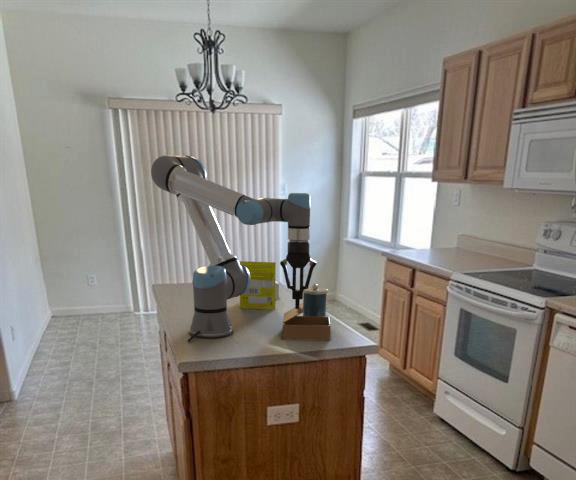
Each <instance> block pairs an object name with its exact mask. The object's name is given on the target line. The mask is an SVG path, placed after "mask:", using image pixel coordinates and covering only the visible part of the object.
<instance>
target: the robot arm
mask: <svg viewBox="0 0 576 480" xmlns="http://www.w3.org/2000/svg"><path fill="white" fill-rule="evenodd" d="M150 176H151V179H152V182H153V183H154V184H155V185H156V186H157V187H158V188H159V189H160V190H163V191H164V192H168V193H170V194H172V195H175V196H176V199H177V200H178V201H180V202H182V203H183V204H184V206H185V209H186V211H187V213H188V216H189V218H190V220H191V222H192V225H193V228H194V229H195V231H196V234H197V236H198V238H199V241H200V243H201V245H202V248H203V250H204V252H205V255H206V256H207V259H208V261H209V265H206V266H201V267H198V268H196V269H195V270H193V273H192V281H191V282H192V289H193V290H192V291H193V307H194V312H193V317H192V322H191V324H190V326H189V327H190V328H189V330H190V331H189V332H190V334H191V336H190V337H189V338H188V339H187V342H191V341H192V340H193V339H195V338H196V337H197V338H202V339H217V338H218V339H219V338H224V337H228V336H231V334H233V325H232V324H231V320H230V317H229V313H228V308H227V304H228V300H231V299H233V298H238V297H240V295H241V294H243V293H245V292H246V291H247V290H248V288H249V286H250V283H251V276H250V272H249V270H248V269H247V268H246V267H245V266H243V265H242V264H240V263H239V261H240V260H239V258H238V257H237V256H236V255H234V254H232V252H231V250H230V248H229V246H228V244H227V241H226V239H225V236H224V234H223V231H222V230H221V227H220V225H219V223H218V220H217V218H216V216H215V213H214V211H213V209H212V208H214V209H215V210H218V211H220V212H223V213H225V214H228V215H230V216H232V217H235V218H237V219H238V220H239V222H240V223H241V224H243V225H246V226H256V225H259V224H266V223H271V222H277V223H280V222H281V223H287V240H288V242H287V255H286V256H285V258H284V259H282V260H280V262H279V264H280V266H281V268H282V270H283V274H284V279H285V284H286V287H287V289H288V290H291V298H292V300H294V306H295V307H294V308H295V309H299V307H300V304H301V303H300V302H301V301H300V300H303V290H305V289H308V287H310V283H311V278H312V275H313V271H314V269H315V267H316V266H317V261H316V260H313V259H312V257H311V255H310V244H311V243H310V239H311V209H312V207H311V195H310V193H307V192H290V193H288V196H287V198H272V197H259V198H258V199H256V198H253V197H250V196H248V195H245V194H243V193H241V192H238V191H236V190H233V189H231V188H229V187H226V186H223V185H221V184H219V183H216V182H214V181H211V180H209V179H207V177H208V176H207V169H206V167H205V165H204V164H203V163H202V162H201V160H199V159H198V158H197V157H194V156H191V155H186V154H184V155H173V154H172V155H171V154H163V155H161V156H158V158H156V159H155V160H154V161H153V163H152V164H151V169H150ZM287 265H290V267H291V268H292V282H291V281H290V276H289V271H288V267H287ZM307 265H309V269H308V273H307V276H306V280H305V284H304V269H305V268H306V267H307ZM297 269H299V289H297ZM291 283H292V284H291Z"/></svg>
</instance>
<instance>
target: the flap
mask: <svg viewBox="0 0 576 480" xmlns="http://www.w3.org/2000/svg"><path fill="white" fill-rule="evenodd" d="M303 312H304V303H303V302H302V303H300V307H299V309H295V307H293V308H291V309H290V310H288V311H286V312H283V317H282V318H283V319H282V324H283V323H285V322H287V321H289V320H290V319H292V318H294V317H296V316H300V315H302V314H303Z"/></svg>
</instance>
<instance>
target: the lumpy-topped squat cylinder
mask: <svg viewBox="0 0 576 480" xmlns="http://www.w3.org/2000/svg"><path fill="white" fill-rule="evenodd" d="M277 300H280V283H279V282H278V281H277V280H275V301H277Z"/></svg>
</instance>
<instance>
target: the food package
mask: <svg viewBox="0 0 576 480" xmlns="http://www.w3.org/2000/svg"><path fill="white" fill-rule="evenodd" d="M238 261H239V263H240V264H242V265H243V266H245V267H246V268H247V269H248V270H249V272H250V276H251V283H250V286H249V288H248V290H247V291H246V292H245V293H243V294H241V295H239V308H240V309H257V310H261V309H262V310H276V300H275V281H276V271H277V270H276V269H277V268H276V267H277V266H276V264H277V263H276V262H275V261H274V262H273V261H248V260H247V261H246V260H245V261H244V260H238Z"/></svg>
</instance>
